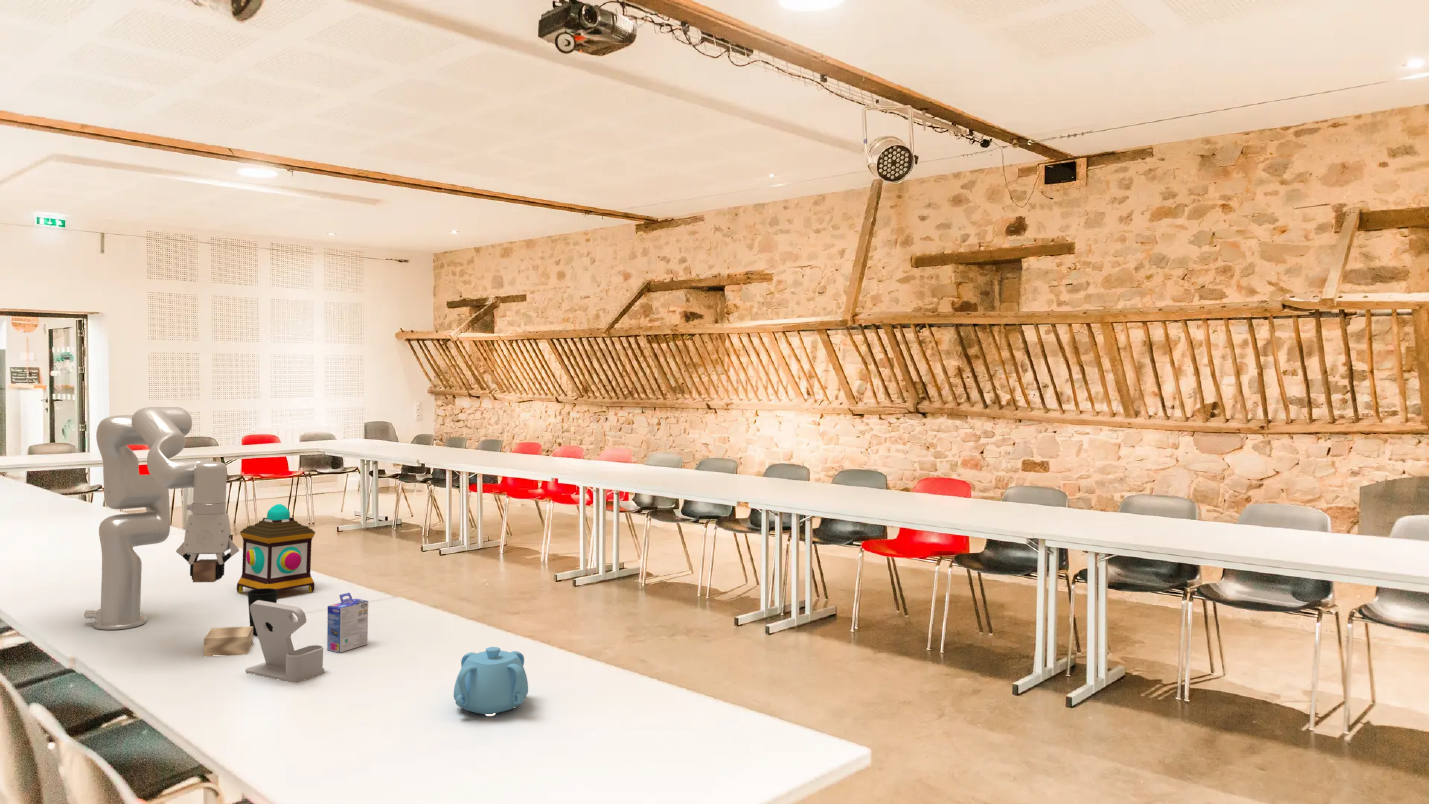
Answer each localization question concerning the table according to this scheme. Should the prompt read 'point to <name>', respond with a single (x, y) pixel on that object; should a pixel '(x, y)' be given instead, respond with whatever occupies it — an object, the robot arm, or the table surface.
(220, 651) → the oak block
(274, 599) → the cup
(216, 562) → the walnut cube
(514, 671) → the decorative pot
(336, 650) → the ink cartridge box
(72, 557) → the table surface
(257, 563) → the decorative lantern
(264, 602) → the phone holder
